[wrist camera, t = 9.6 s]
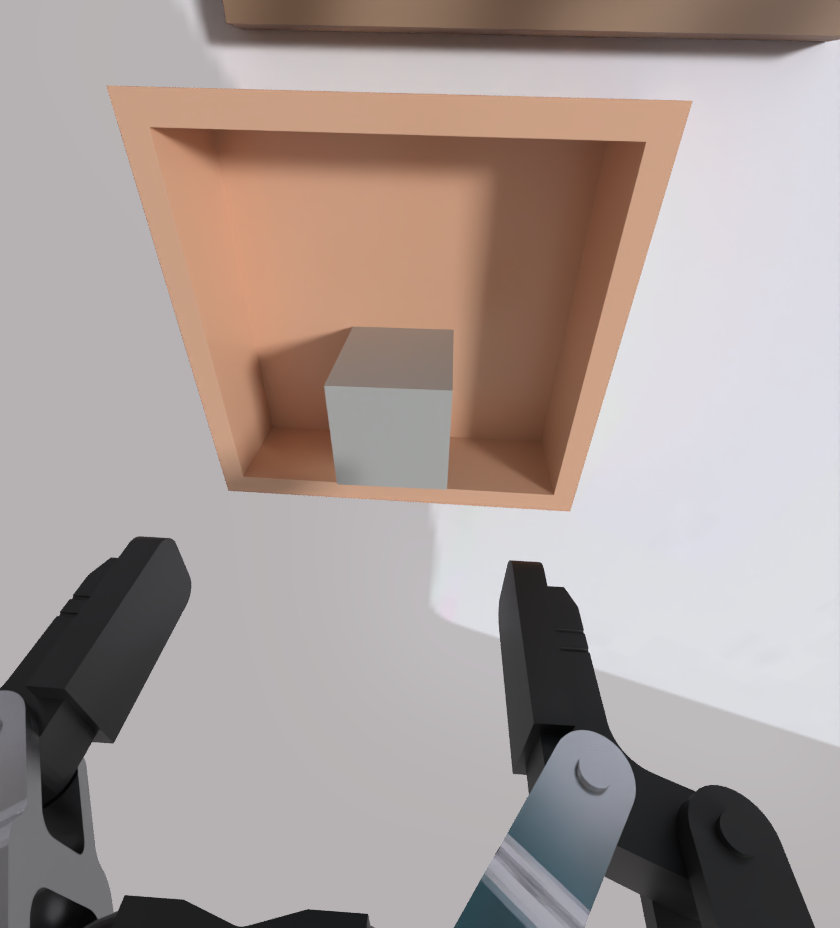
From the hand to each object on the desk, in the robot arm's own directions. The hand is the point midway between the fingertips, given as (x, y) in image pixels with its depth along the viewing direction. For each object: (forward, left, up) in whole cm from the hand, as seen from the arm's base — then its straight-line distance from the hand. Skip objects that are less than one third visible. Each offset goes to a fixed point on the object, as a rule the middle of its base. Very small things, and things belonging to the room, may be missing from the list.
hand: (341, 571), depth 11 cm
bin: (+1, +3, -11) cm, 12 cm away
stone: (+1, 0, -11) cm, 11 cm away
